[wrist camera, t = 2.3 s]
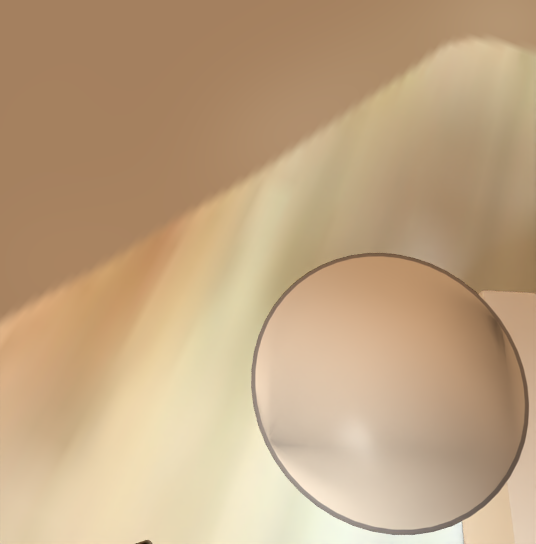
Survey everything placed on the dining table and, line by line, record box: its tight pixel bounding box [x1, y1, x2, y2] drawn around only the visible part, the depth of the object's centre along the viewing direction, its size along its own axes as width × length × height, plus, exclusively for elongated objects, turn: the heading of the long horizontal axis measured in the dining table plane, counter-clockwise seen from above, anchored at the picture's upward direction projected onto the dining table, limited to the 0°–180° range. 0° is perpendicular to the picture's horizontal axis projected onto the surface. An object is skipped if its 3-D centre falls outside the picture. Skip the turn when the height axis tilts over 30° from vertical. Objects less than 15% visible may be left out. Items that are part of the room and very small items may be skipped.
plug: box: [251, 253, 529, 535], centre depth 12 cm, size 4×4×14 cm
